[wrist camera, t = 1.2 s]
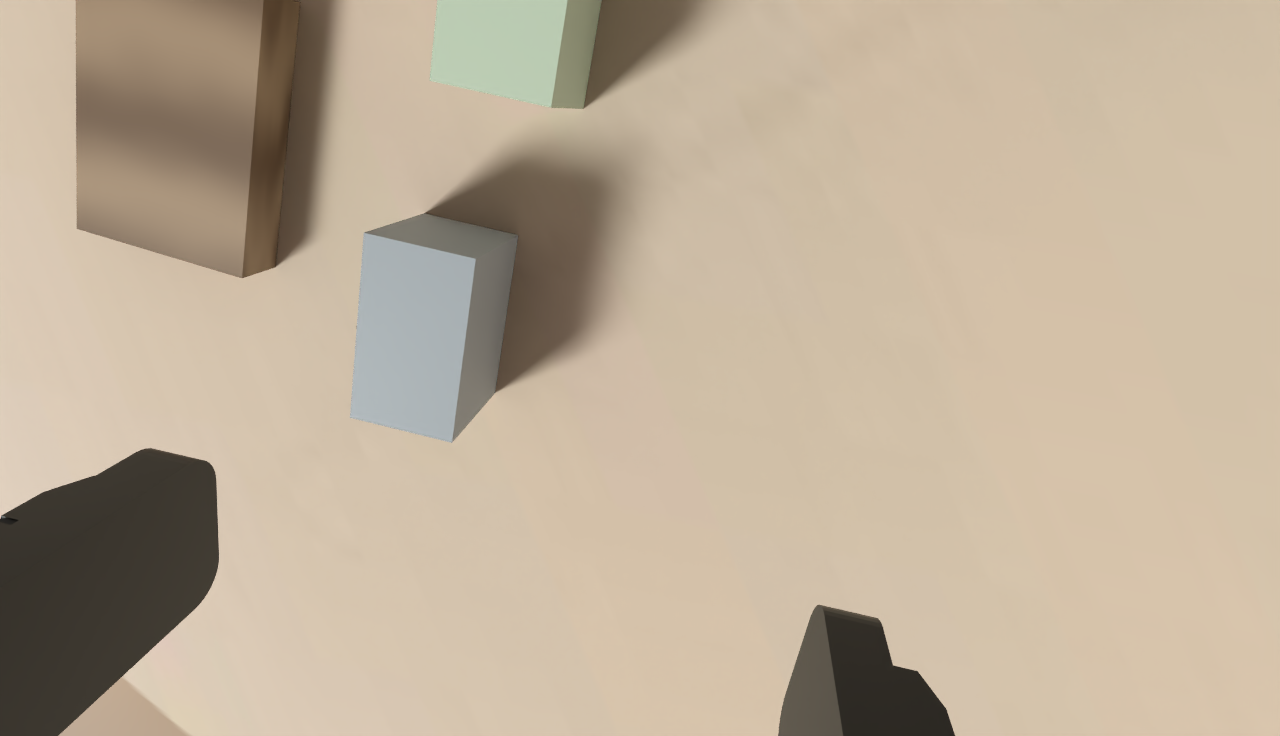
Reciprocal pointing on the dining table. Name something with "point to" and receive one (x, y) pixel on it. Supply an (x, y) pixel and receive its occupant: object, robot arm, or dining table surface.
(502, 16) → the sage brick
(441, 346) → the slate brick
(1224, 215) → the dining table surface
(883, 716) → the robot arm
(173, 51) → the walnut brick
